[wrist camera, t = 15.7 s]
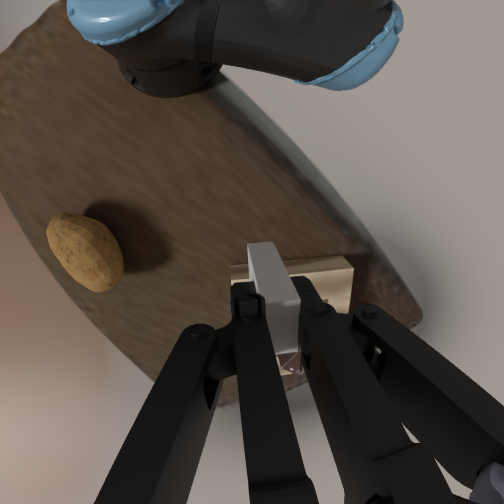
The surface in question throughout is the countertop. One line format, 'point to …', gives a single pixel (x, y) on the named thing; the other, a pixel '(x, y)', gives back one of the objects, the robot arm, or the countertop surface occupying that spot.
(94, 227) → the potato
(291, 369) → the box
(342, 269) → the square frame
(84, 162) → the countertop surface
